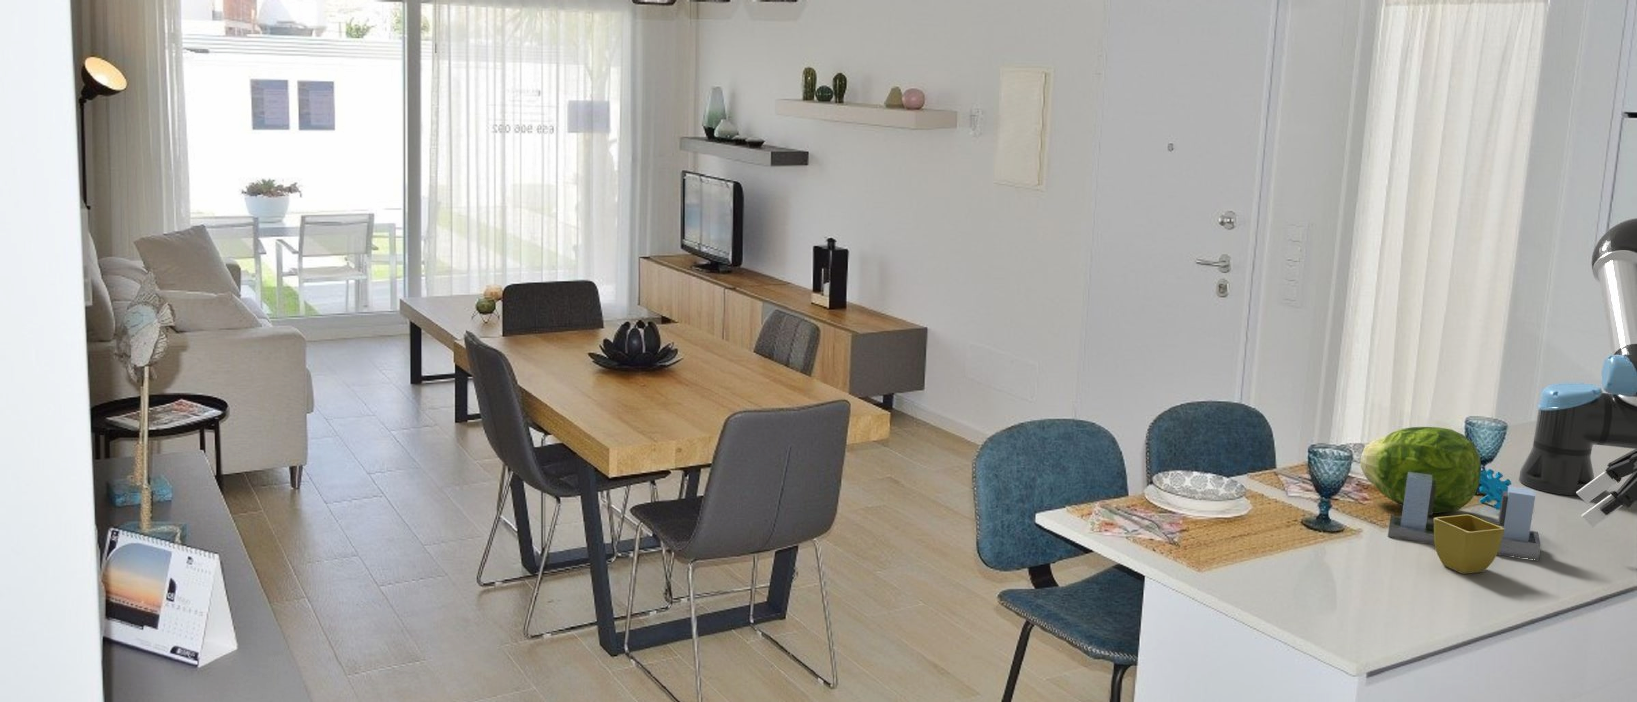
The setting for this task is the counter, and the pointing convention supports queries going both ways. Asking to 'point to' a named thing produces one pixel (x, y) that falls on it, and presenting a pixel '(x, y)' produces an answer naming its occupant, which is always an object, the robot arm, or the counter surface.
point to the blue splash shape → (1493, 487)
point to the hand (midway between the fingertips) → (1583, 509)
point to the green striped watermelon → (1424, 464)
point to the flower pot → (1466, 542)
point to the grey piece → (1421, 530)
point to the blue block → (1516, 513)
